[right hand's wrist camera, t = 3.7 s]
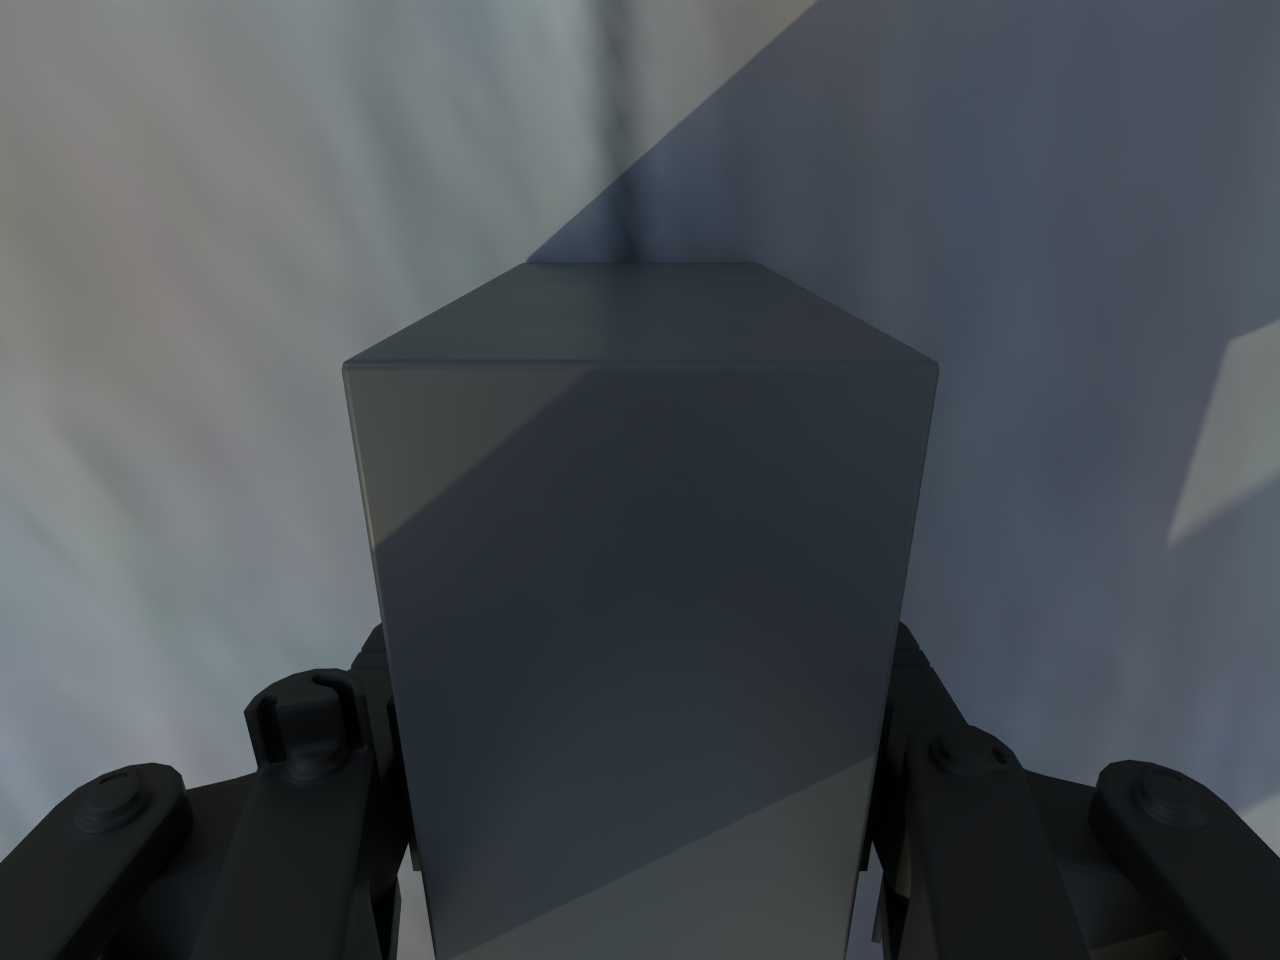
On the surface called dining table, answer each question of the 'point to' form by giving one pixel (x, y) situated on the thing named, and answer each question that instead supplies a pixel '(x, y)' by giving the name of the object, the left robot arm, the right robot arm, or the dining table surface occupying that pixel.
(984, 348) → the dining table surface
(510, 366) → the post
